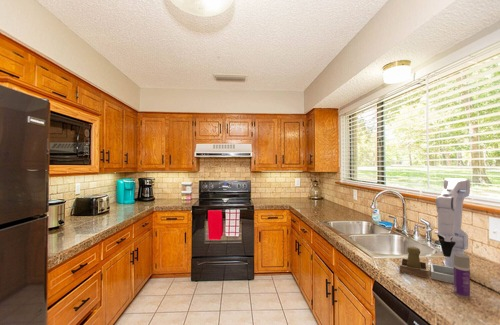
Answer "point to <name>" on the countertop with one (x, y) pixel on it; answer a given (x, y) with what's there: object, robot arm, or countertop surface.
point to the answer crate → (440, 275)
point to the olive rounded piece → (413, 257)
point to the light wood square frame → (414, 270)
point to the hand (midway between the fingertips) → (446, 253)
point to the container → (461, 275)
